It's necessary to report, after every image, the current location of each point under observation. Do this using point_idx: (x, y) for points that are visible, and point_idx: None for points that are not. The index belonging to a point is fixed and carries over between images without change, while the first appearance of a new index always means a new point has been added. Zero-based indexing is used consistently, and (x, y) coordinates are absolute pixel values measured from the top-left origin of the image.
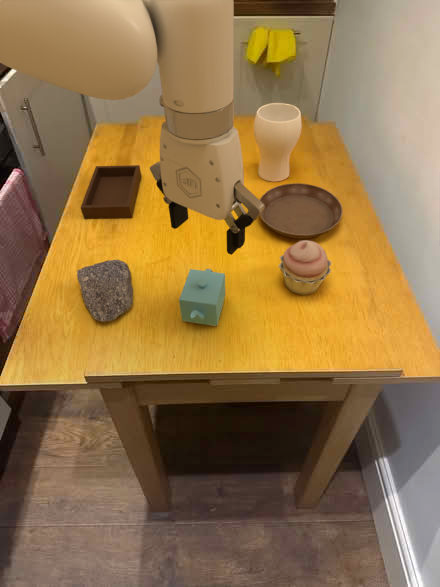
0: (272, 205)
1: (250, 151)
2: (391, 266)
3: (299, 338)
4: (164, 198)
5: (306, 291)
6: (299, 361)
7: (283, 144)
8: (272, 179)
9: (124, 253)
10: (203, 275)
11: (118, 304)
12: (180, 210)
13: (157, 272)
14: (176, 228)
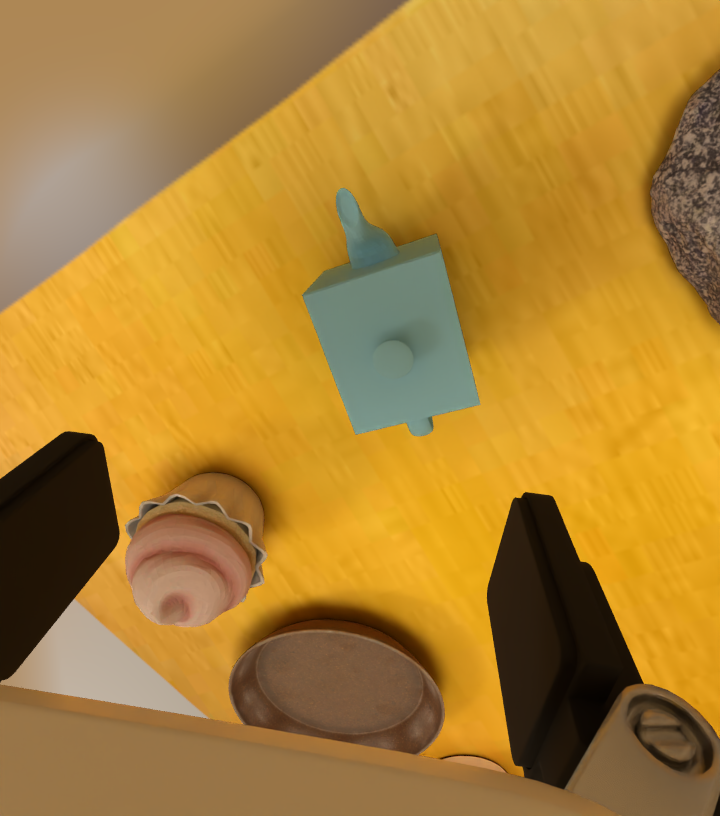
0: (414, 694)
1: None
2: (93, 610)
3: (127, 348)
4: (709, 748)
5: (182, 483)
6: (83, 280)
7: None
8: (457, 762)
9: None
10: (417, 397)
11: (703, 158)
12: (520, 641)
13: (625, 383)
14: (513, 499)
